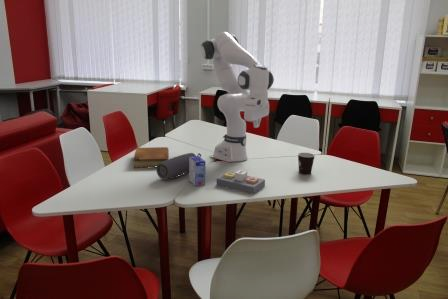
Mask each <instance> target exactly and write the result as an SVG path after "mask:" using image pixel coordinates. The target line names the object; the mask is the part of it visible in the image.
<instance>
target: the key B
mask: <svg viewBox="0 0 448 299" xmlns="http://www.w3.org/2000/svg"><path fill="white" fill-rule="evenodd" d="M234 173H235V180H238V181H242V182H243V181H245V180H246V179H247V176H248V171H247V170H246V171H245V170H242V169H241V170H240V169H239V170H237V171H235V172H234Z"/></svg>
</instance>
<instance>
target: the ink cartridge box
mask: <svg viewBox="0 0 448 299" xmlns="http://www.w3.org/2000/svg"><path fill="white" fill-rule="evenodd" d="M188 180H189V181H190V182H191V183H192V185H194V186H195V187H198V186H205V185H206V160H205V159H203V158H202V154H201V153H197V155H196V156H193V157H189V171H188Z"/></svg>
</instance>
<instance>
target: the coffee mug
mask: <svg viewBox="0 0 448 299" xmlns="http://www.w3.org/2000/svg"><path fill="white" fill-rule="evenodd" d="M297 158H298V173H299V174H301V175H306V176H307V175H308V176H309V175H311V174H312V169H313V165H314V161H315V158H316V157H315V154H314V153H311V152H298V154H297Z"/></svg>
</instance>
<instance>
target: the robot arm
mask: <svg viewBox="0 0 448 299" xmlns="http://www.w3.org/2000/svg"><path fill="white" fill-rule="evenodd" d="M200 51H201V55H202V56H203V58H204V59H206V60H212V65H213V69H214V72H215V75H216V78H217V80H218V83H219V86H220V88H221V89H222V90H224V91H225V92H227V93H224V94H223V95H220V96H219V97H218V99H217V108H218V109H219V111H220V112H221V113H223V115H224V117H225V121H226V134H224V135H223V136H222V139H223V140H222V141H221V142H219V143H218V144H217V145H216V146H215V147H214V150H213V152H211V154H213V155H211V154H210V155H211V156H213V157H215V158H214V159H216V160H220V161H224V162H226V163H230V162H231V163H232V162H243V161H244V162H245V161H247V160H248V155H247V148H246V146H247V145H246V144H247V134H246V133H247V132H246V131H247V123H246V122H252V124H253V128H255V129H257V128H259V127H260V124H261V121H262V118H265V117H267V116H269V114H270V103H269V102H270V101H269V100H268V96H269V91H268V90H269V89H270V88H271V87H272V86H273V84H274V80H275V78H274V75H273V73H272V71H271V70H269V68H268V66H266V65H264V64H262V63H260V61H259V60H258V59H257V58H256V57H255V56H254V54H252V53H250V52H249V51H247V50H246V49H244V48H243V47H242V46H241V44H240V43H239V40H238V38H237V35H235V34H233V33H232V34H230V33H229V32H227V31H221V32H219V33H217V34H216V36H215V38H212V39H211V38H210V39H208V40H205V41H203V42H202V43H201V45H200ZM233 65H237V66H242V67H246V68H248V69H246V70H242V71H241V72H240V73H239V74H238V75H237V73H236V70H235V67H234V66H233ZM241 112H244V113H243V115H244V116H243V118H244V119H243V118H242V117H241ZM213 157H212V158H213Z"/></svg>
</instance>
